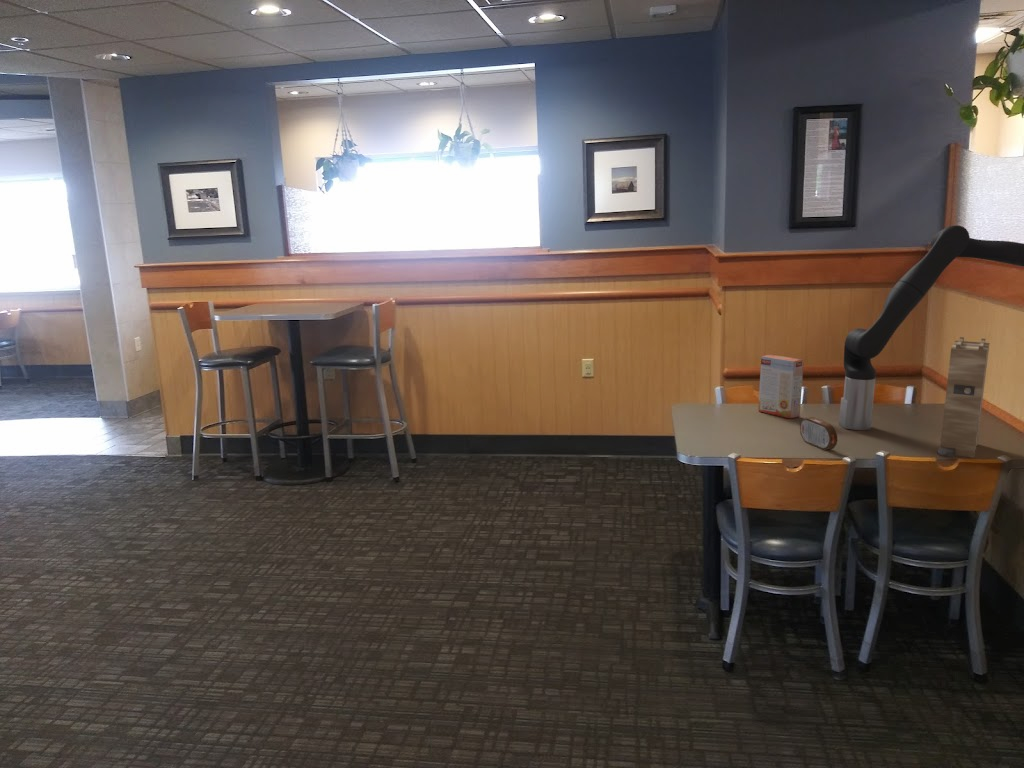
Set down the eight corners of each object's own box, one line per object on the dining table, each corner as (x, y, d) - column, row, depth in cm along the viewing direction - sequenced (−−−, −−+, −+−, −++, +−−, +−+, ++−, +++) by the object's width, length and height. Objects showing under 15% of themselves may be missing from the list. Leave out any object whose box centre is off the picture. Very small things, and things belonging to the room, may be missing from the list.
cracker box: (800, 416, 276) (804, 359, 271) (790, 419, 272) (794, 361, 268) (768, 409, 287) (771, 353, 283) (757, 411, 284) (760, 355, 279)
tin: (837, 452, 235) (839, 425, 233) (828, 453, 234) (830, 426, 232) (805, 439, 249) (807, 413, 247) (797, 439, 248) (799, 414, 246)
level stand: (943, 439, 246) (954, 336, 239) (977, 444, 241) (990, 339, 234) (936, 457, 229) (948, 346, 222) (972, 462, 224) (986, 349, 217)
